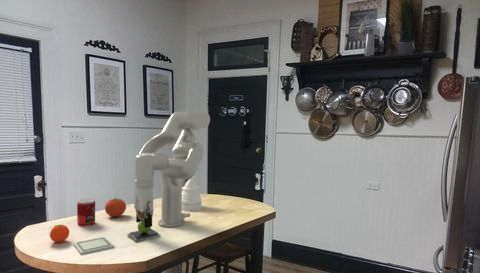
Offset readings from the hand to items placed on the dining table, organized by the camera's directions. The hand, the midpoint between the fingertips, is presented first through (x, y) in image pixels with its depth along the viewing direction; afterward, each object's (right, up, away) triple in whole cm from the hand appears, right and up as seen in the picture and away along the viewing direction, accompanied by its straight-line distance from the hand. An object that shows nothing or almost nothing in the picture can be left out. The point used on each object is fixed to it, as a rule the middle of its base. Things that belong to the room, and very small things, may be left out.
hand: (144, 224), depth 139 cm
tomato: (-23, -4, +29) cm, 37 cm away
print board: (-16, -5, -12) cm, 21 cm away
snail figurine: (0, -4, 0) cm, 4 cm away
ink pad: (0, -5, 0) cm, 5 cm away
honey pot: (+12, -4, +49) cm, 50 cm away
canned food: (-32, -4, +17) cm, 37 cm away
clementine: (-32, -5, -8) cm, 34 cm away
